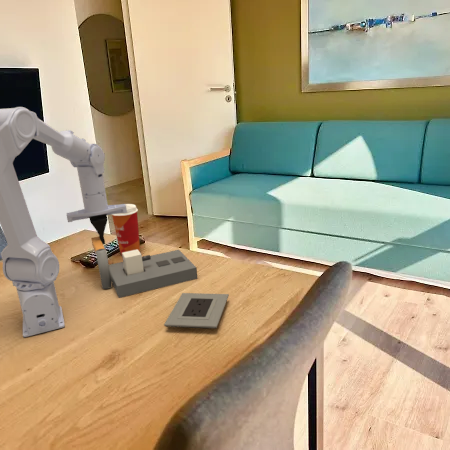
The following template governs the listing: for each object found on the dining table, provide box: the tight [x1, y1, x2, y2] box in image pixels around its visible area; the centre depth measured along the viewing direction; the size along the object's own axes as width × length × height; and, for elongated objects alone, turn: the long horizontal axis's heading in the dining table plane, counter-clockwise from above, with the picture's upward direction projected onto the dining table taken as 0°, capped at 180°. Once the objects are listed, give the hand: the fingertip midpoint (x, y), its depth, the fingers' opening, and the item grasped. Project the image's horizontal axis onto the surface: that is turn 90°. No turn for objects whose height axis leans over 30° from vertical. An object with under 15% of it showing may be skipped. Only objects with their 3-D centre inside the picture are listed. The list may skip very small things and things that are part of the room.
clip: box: [91, 235, 113, 290], centre depth 110 cm, size 12×2×10 cm, turn 23°
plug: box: [121, 249, 151, 276], centre depth 109 cm, size 4×6×8 cm, turn 114°
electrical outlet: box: [163, 292, 230, 330], centre depth 91 cm, size 13×10×2 cm
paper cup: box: [110, 203, 141, 256], centre depth 126 cm, size 8×8×14 cm
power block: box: [109, 249, 199, 299], centre depth 111 cm, size 14×20×3 cm
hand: (102, 243), depth 113 cm, fingers closed, pressing on clip
